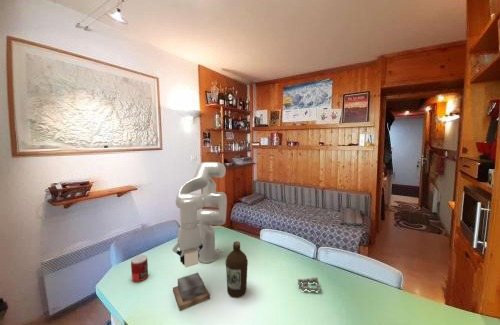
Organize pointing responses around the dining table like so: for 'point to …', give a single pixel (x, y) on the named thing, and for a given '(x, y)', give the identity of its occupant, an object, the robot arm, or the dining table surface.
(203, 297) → the pedestal
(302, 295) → the dining table surface
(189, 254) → the cream cube
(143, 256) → the canned food
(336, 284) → the dining table surface
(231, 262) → the olive oil
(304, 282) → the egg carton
